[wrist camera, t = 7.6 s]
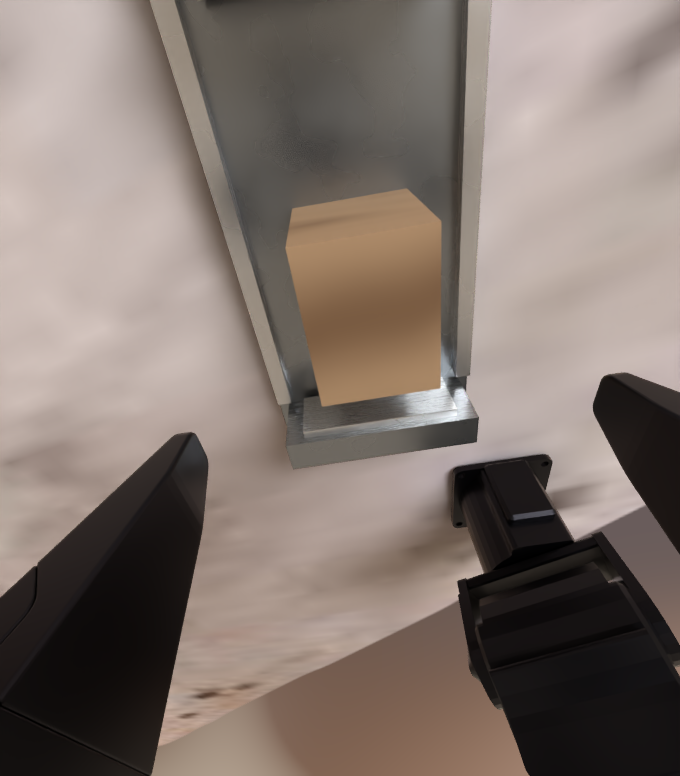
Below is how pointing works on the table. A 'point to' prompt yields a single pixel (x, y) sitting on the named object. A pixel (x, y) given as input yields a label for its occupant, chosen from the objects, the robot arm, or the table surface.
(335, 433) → the base
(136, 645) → the robot arm
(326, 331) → the block
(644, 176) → the table surface
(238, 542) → the table surface
